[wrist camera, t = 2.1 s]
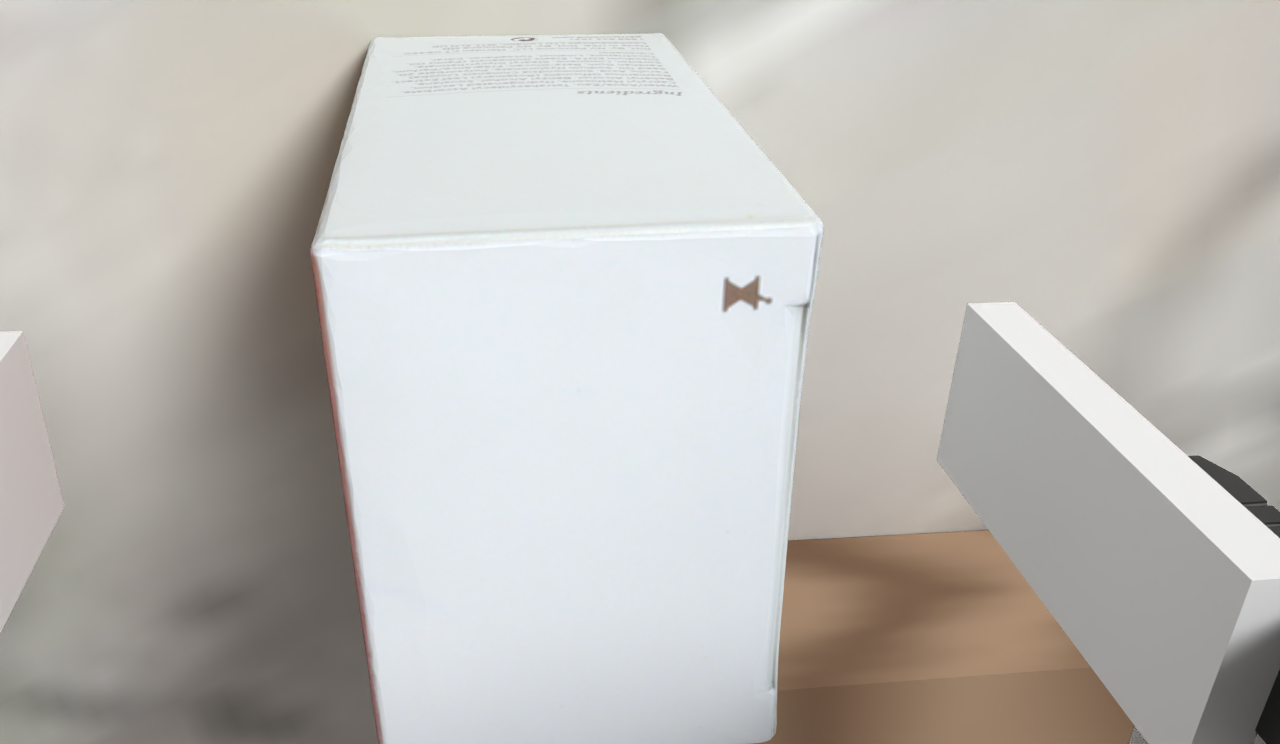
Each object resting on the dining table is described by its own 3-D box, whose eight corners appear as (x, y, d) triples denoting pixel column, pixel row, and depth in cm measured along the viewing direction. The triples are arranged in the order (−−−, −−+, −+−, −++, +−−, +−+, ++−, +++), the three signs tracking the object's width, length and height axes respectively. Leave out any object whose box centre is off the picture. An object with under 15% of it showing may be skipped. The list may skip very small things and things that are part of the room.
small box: (368, 30, 20) (296, 226, 11) (669, 26, 21) (835, 208, 12) (404, 411, 24) (372, 796, 15) (660, 397, 25) (780, 755, 16)
